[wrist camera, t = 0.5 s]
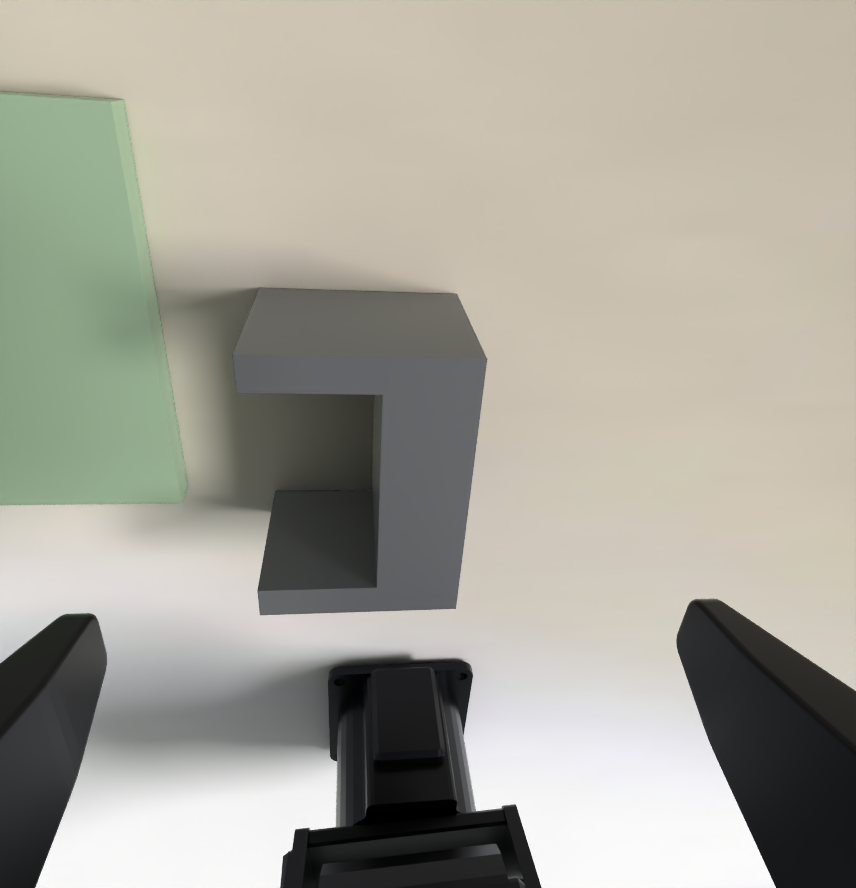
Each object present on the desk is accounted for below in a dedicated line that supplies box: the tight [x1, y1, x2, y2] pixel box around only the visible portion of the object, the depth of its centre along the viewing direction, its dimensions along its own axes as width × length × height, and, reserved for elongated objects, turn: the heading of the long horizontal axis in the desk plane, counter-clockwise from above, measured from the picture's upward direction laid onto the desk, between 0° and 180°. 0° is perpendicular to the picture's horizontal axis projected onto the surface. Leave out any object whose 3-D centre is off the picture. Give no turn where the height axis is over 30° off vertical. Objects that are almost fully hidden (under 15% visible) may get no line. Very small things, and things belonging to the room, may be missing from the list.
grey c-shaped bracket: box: [232, 288, 487, 615], centre depth 19 cm, size 6×8×5 cm
